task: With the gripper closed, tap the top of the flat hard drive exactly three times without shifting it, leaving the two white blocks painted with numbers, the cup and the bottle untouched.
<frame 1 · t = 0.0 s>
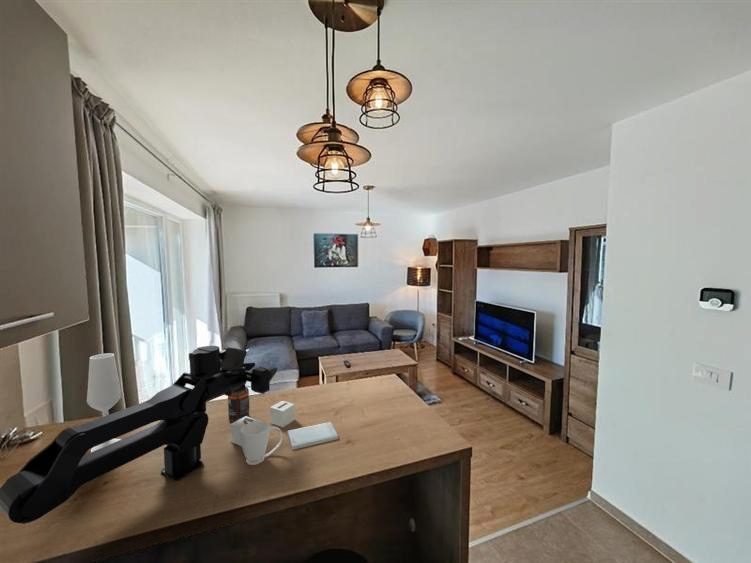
hand: (265, 366, 94), 17 cm above the breakfast bar, tool horizontal, fingers open, 9 cm apart
hard drive: (312, 438, 87), on the breakfast bar
supplement bottle: (239, 419, 96), on the breakfast bar
block one: (282, 421, 95), on the breakfast bar
cup: (262, 458, 78), on the breakfast bar
champagne flute: (107, 446, 82), on the breakfast bar
block seven: (245, 440, 85), on the breakfast bar
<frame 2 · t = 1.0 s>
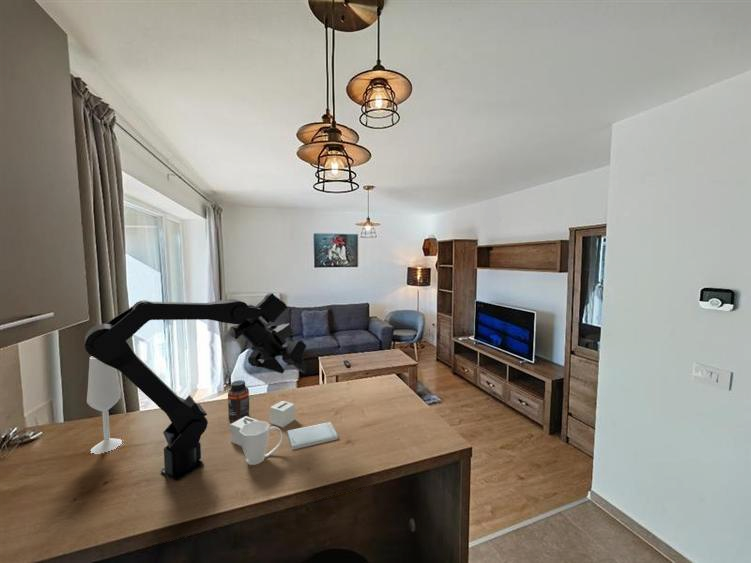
hand: (294, 371, 91), 16 cm above the breakfast bar, tool tilted 40°, fingers open, 9 cm apart
nothing on the breakfast bar moved.
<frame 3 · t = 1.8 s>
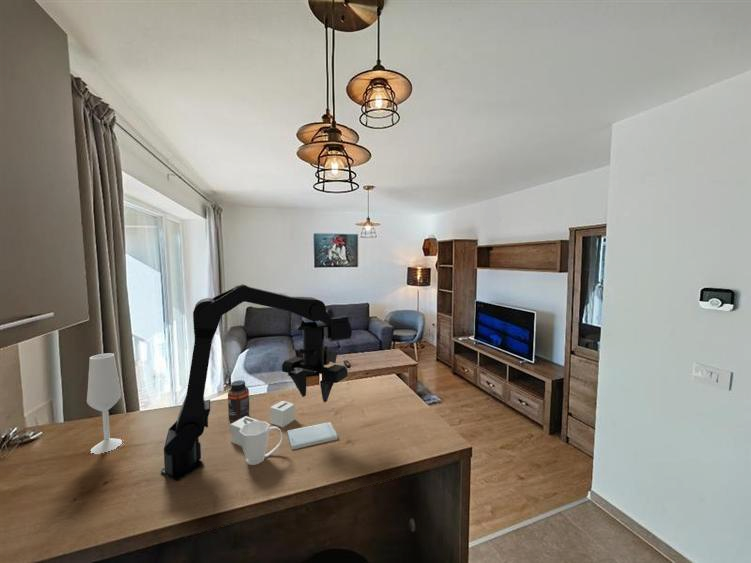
hand: (314, 399, 87), 10 cm above the breakfast bar, tool pointing down, fingers open, 7 cm apart
nothing on the breakfast bar moved.
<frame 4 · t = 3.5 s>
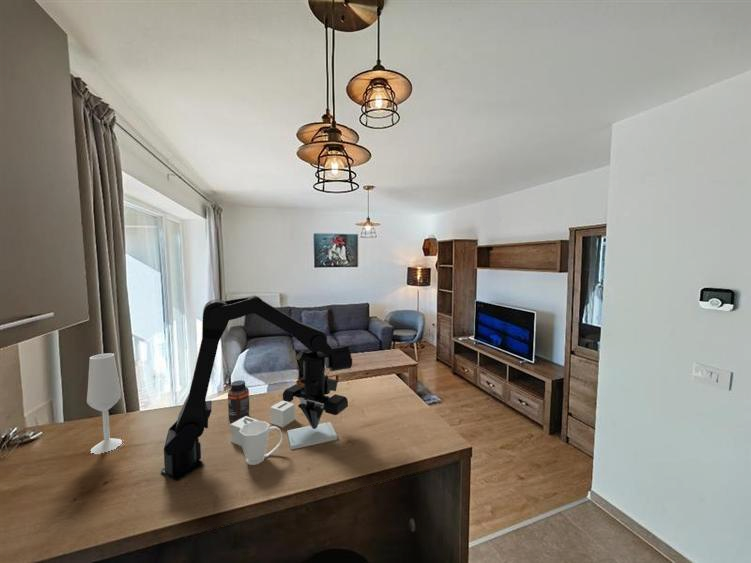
hand: (314, 428, 88), 2 cm above the breakfast bar, tool pointing down, fingers closed
nothing on the breakfast bar moved.
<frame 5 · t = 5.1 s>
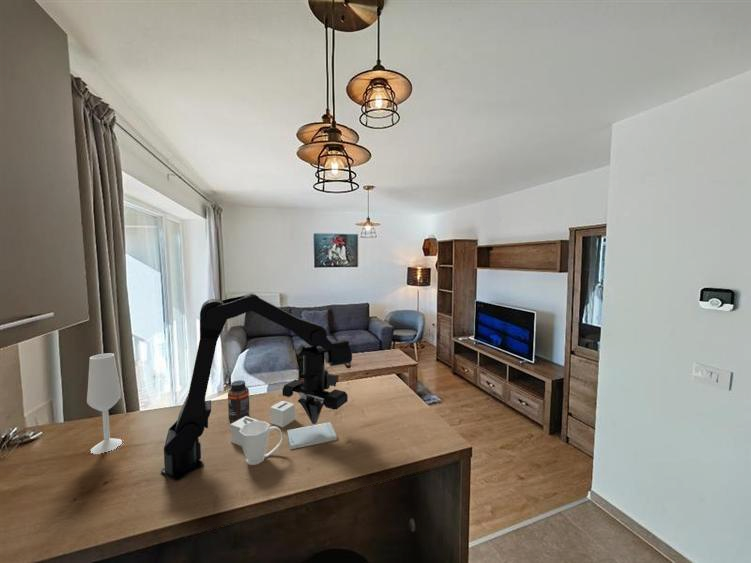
hand: (314, 423, 88), 3 cm above the breakfast bar, tool pointing down, fingers closed
nothing on the breakfast bar moved.
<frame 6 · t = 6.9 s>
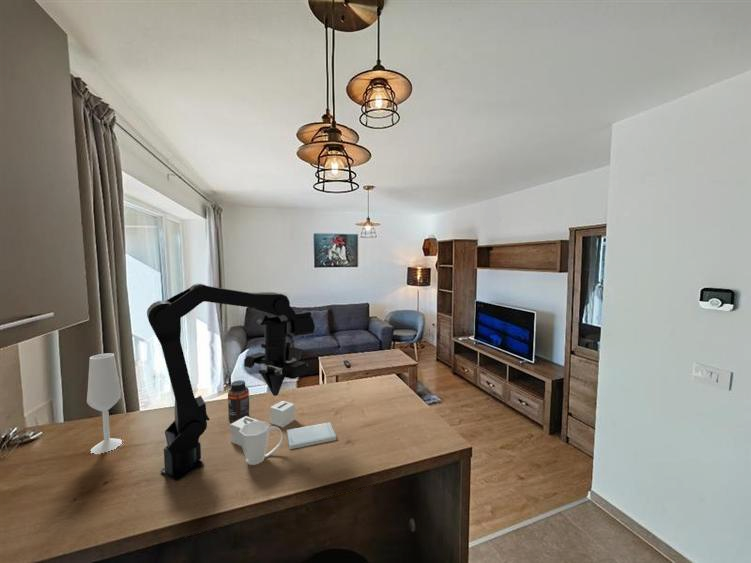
hand: (275, 395, 86), 12 cm above the breakfast bar, tool pointing down, fingers closed
nothing on the breakfast bar moved.
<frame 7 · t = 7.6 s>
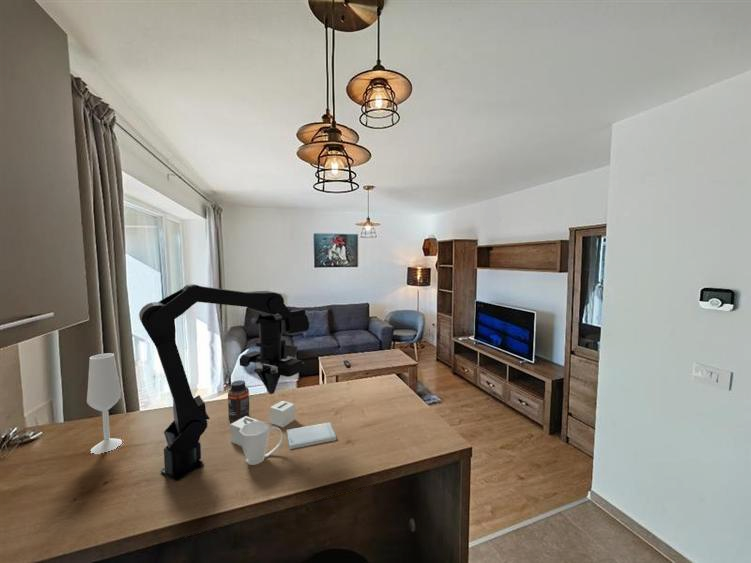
hand: (271, 393, 86), 12 cm above the breakfast bar, tool pointing down, fingers closed
nothing on the breakfast bar moved.
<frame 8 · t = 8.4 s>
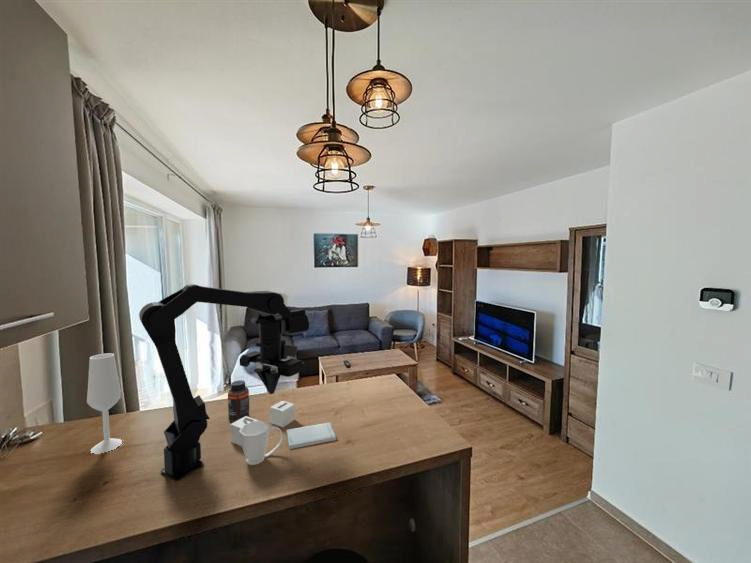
hand: (271, 393, 86), 12 cm above the breakfast bar, tool pointing down, fingers closed
nothing on the breakfast bar moved.
at the end: hard drive moved 0.9 cm from its start; hard drive tilted 0°; block one moved 0.1 cm from its start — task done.
